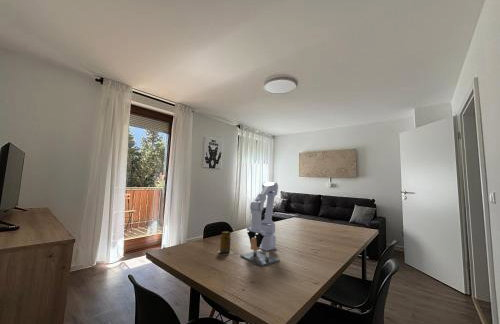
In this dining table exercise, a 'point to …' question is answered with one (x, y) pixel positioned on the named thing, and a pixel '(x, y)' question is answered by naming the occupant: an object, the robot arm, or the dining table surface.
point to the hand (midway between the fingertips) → (255, 245)
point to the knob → (254, 244)
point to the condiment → (225, 243)
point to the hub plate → (260, 258)
